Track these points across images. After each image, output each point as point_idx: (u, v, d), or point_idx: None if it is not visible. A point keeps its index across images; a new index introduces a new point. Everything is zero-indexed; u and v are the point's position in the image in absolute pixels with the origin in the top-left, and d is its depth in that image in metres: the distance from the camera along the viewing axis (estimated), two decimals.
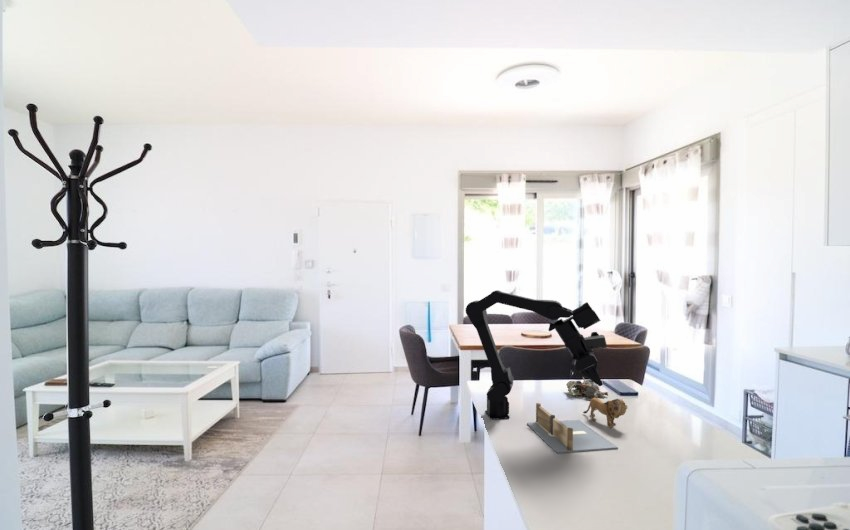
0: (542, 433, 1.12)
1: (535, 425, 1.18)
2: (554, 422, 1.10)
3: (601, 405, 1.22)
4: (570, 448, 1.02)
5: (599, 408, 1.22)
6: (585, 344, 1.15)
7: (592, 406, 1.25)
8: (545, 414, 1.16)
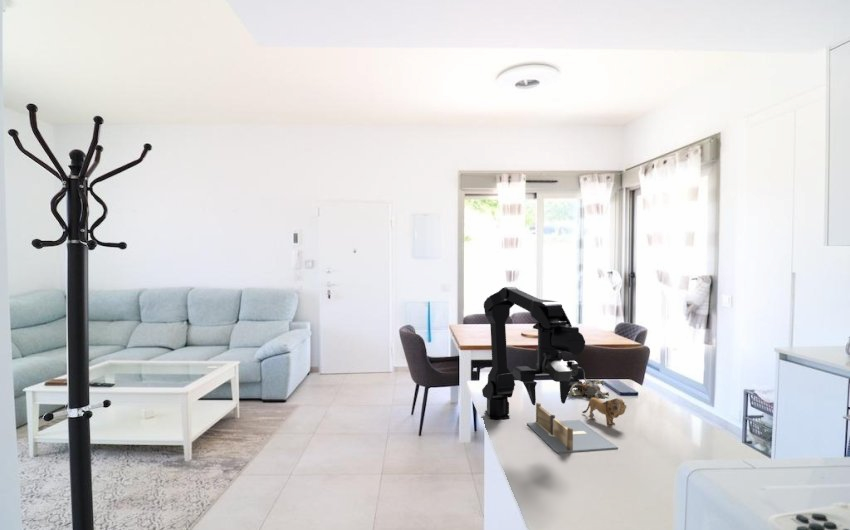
0: (542, 433, 1.12)
1: (535, 425, 1.18)
2: (554, 422, 1.10)
3: (600, 405, 1.22)
4: (570, 448, 1.02)
5: (598, 408, 1.22)
6: (543, 362, 1.02)
7: (591, 406, 1.25)
8: (545, 414, 1.16)
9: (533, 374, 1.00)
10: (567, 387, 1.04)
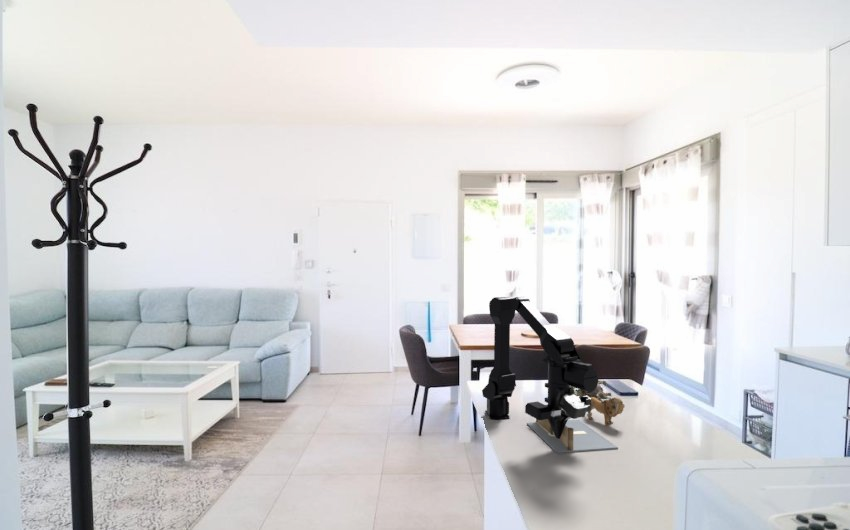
0: (542, 433, 1.12)
1: (535, 425, 1.18)
2: None
3: (599, 404, 1.23)
4: (571, 448, 1.02)
5: (597, 407, 1.23)
6: (557, 398, 1.01)
7: None
8: None
9: (549, 411, 0.99)
10: (563, 422, 1.03)
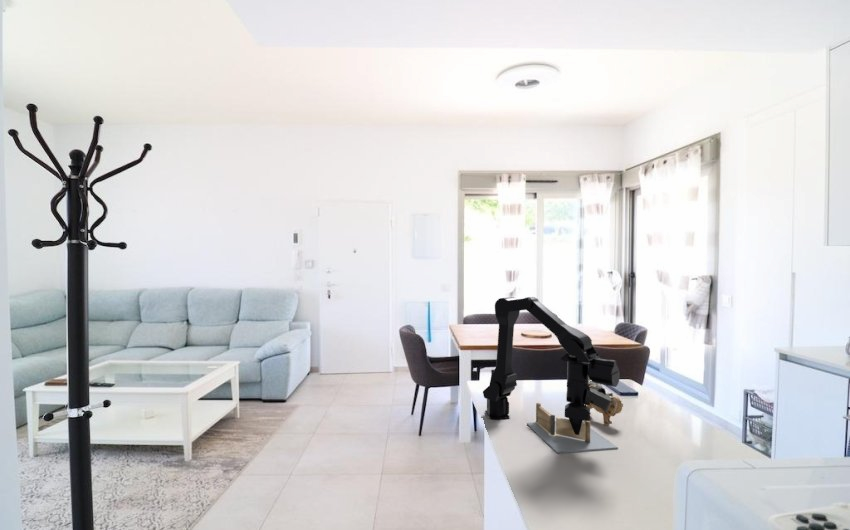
0: (542, 433, 1.12)
1: (535, 425, 1.18)
2: (559, 421, 1.11)
3: None
4: (589, 440, 1.07)
5: (595, 406, 1.23)
6: (587, 395, 1.04)
7: None
8: (545, 414, 1.16)
9: (589, 410, 1.00)
10: None
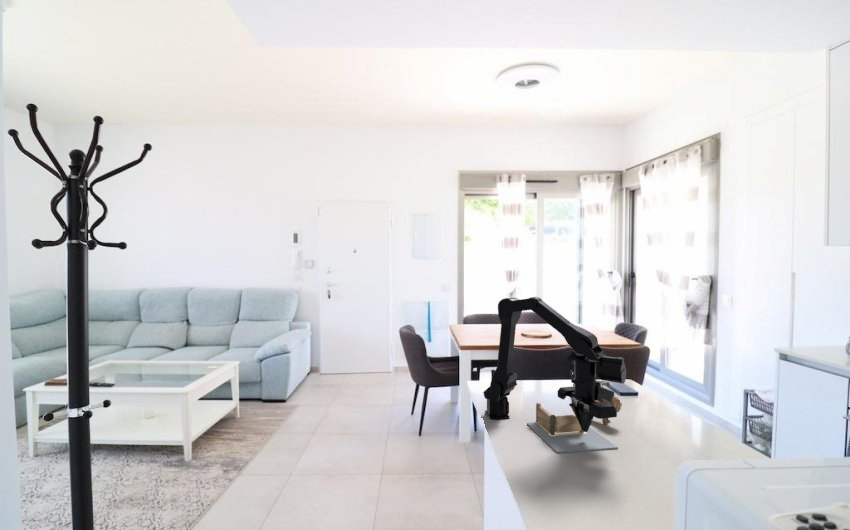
0: (542, 433, 1.12)
1: (535, 425, 1.18)
2: (559, 419, 1.12)
3: None
4: None
5: None
6: (599, 391, 1.07)
7: None
8: (545, 414, 1.16)
9: None
10: None
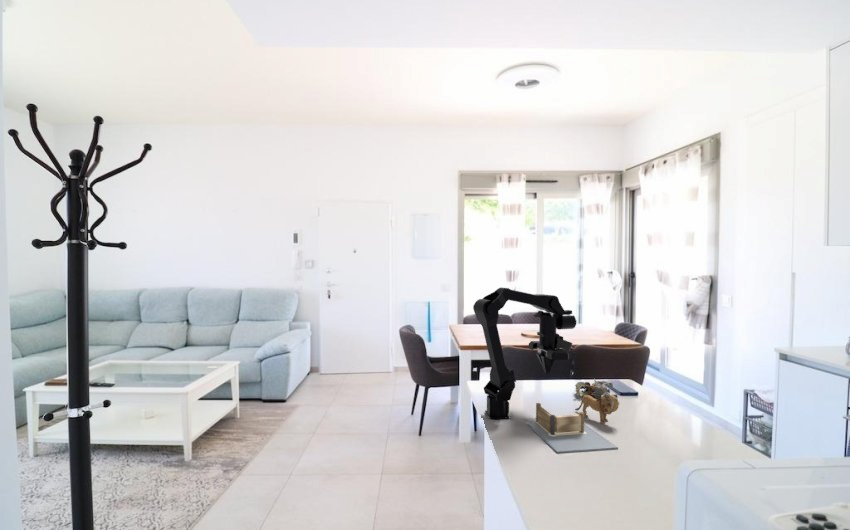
0: (542, 433, 1.12)
1: (535, 425, 1.18)
2: (559, 419, 1.12)
3: (594, 402, 1.24)
4: None
5: (592, 405, 1.25)
6: (558, 341, 1.32)
7: (585, 403, 1.27)
8: (545, 414, 1.16)
9: None
10: None
